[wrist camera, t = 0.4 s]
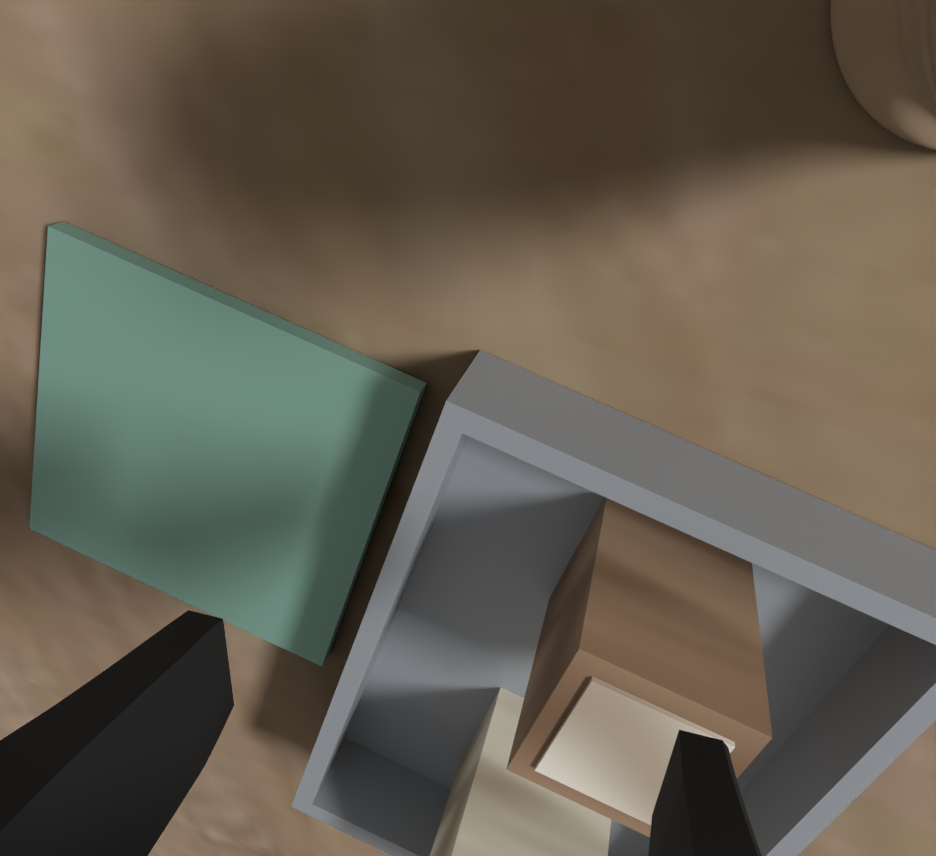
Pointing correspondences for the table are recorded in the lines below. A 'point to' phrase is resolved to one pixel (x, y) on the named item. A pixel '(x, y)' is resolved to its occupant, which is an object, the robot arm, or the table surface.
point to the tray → (539, 570)
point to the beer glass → (890, 62)
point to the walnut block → (640, 666)
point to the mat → (209, 443)
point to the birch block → (511, 802)
